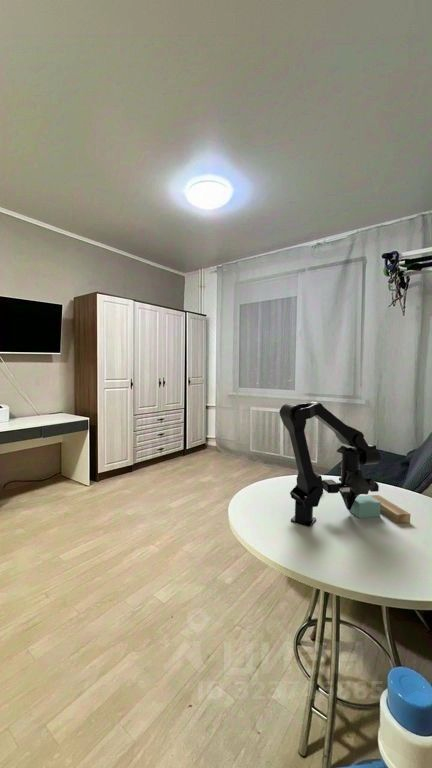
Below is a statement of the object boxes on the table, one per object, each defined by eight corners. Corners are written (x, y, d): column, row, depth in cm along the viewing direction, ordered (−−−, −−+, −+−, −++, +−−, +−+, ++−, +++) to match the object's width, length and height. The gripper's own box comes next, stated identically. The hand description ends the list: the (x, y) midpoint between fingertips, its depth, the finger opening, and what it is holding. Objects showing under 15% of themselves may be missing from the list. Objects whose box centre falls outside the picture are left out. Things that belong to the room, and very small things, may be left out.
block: (358, 517, 109) (359, 503, 109) (348, 510, 115) (349, 496, 114) (380, 516, 110) (380, 502, 110) (368, 509, 116) (369, 495, 116)
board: (396, 523, 105) (396, 514, 105) (366, 503, 121) (366, 495, 121) (410, 522, 106) (410, 513, 106) (378, 502, 122) (378, 495, 122)
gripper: (337, 473, 101) (335, 522, 102) (390, 472, 104) (388, 519, 105) (320, 463, 112) (319, 507, 113) (369, 462, 115) (367, 504, 116)
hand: (348, 509), depth 111 cm, fingers closed
